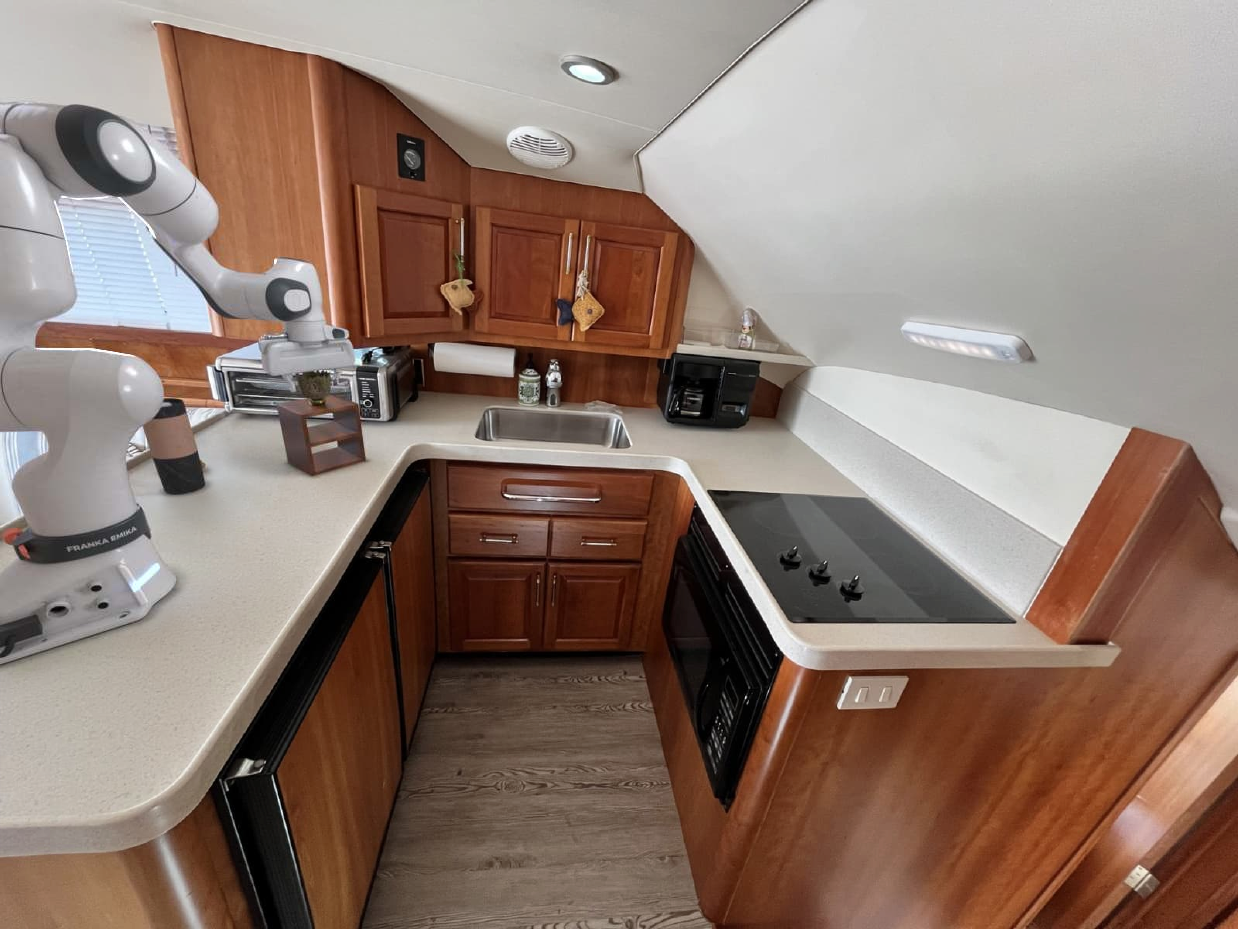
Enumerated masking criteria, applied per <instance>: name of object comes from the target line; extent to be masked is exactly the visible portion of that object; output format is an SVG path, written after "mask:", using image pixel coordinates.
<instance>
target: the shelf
mask: <svg viewBox="0 0 1238 929" xmlns="http://www.w3.org/2000/svg"><path fill="white" fill-rule="evenodd" d="M325 399H326V403H325V404H323V405H311V404H310V402H309V399H308V398H303V399H298V400H291V401H285V402H279V403H275V405H276V410H277V415H278V419H279V425H280V430H281V434H282V435H281V436H282V439H283V444H284V450H285V455H286V460H287V463H288V465H290V466H293V467H294V468H296V469H298V470H300V471H302V472H303V473H305V474H307V475H308V476H311V477H314V476H319V475H322V474H325V473H329V472H333V471H336V470H340V469H343V468H346V467H350V466H353V465H357V464H360V463H363V462H367V457H366V450H365V443H364V442H365V441H364V436H363V435H364V434H363V428H362V421H361V413H360V404H359V403H357V402H355V401H352V400H349V399H347V398H344V397H342V396H339V395H338V394H337V395H336V394H329V395H328V396H327V397H326V398H325ZM328 414H332V418H333V421H329V422H324V423H321V424H315V425H311V426H308V422H307V418H312V417H317V416H322V415H323V416H324V415H328ZM334 442H336V444H337V445H336V447H333V448H330V449H329V448H328V449H325V450H320V451H317V452H313V450H312V448H314V447H318V446H323V445H327V444H330V443H334Z"/></svg>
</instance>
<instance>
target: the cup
mask: <svg viewBox="0 0 1238 929" xmlns="http://www.w3.org/2000/svg"><path fill="white" fill-rule="evenodd" d="M331 373H332V372H331V371H328V370H319V371H311V372H303V373H295V374H294V375H295V378H296V381H297V382H296V383H297V384H299V389H300V393H301V394H302V396H303V397H304V398H305V399H309V402H310V404H311V405H323V404H325V403H326V399H325V398H326V397H327V396H328V395H331V390H332V386H331V378H332V377H331Z"/></svg>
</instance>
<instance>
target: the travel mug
mask: <svg viewBox="0 0 1238 929" xmlns="http://www.w3.org/2000/svg"><path fill="white" fill-rule="evenodd" d="M142 429H143V433H144V436H145V439H146V442H147V445H148V448H149V449H148V450H149V452H150V455H151V458H152V461H153V464H154V466H155V469H156V471H157V475H158V477H159V480H160V483H161V485H162V488H163V490H164V492H165V494H167V495H175V496H177V495H186V494H191V493H194V492H197V491H199V490H201V489H203V488H204V487H205V486H206V480H205V476H204V470H202V466H201V462H200V460H201V458H200V454H199V450H198V446H197V442H196V439H195V436H194V432H193V429H192V426H191V423H190V419H189V414H188V411H187V408H186V405H185V401H184V400H183V399H181V398H175V397H164V400H163V404H162V406H161V408H160V410H159V412H158V413H157V414H156V415H155V417H154V418H153V419H151V420H150V421H149V422H147V423H146V424H144V425H143V426H142Z"/></svg>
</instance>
